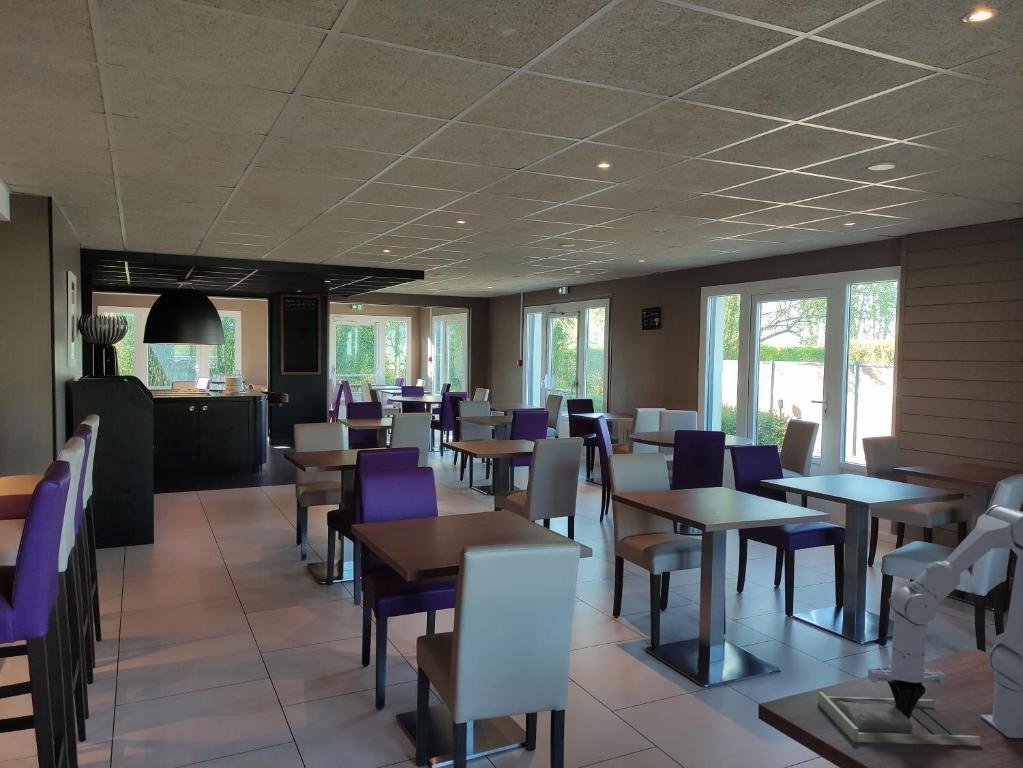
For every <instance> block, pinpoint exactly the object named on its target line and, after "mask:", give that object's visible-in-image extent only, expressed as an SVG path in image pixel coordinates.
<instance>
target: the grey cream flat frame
mask: <svg viewBox="0 0 1023 768" xmlns="http://www.w3.org/2000/svg"><path fill="white" fill-rule="evenodd" d="M826 696H827V695H826ZM827 697H828V698H829V699H830V700H831V701H832V702H833V703H834V704H835V705H836V703H837V701H842V702H852V703H857V702H860V701H880V702H883V703H887V704H889V705H892V706H894V707H896V704H895V700H894V697H893V698H892V697H863V696H861V697H860V696H832V695H831V696H830V695H829V696H827ZM935 703H936V700H935V699H925V698H924V699H921V698H920V699H919V700H918V702H917V703H916V705H915V708H919V709H920V708H935ZM981 741H982V737H981V736H980V735H968V736H965V735H951V734H950V735H933V734H932V733H931V734H929V733H927V734H925V733H910V734H898V733H865V732H858V742H857V743H875V744H876V743H879V744H883V743H884V744H912V745H913V744H915V745H949V746H952V745H953V746H981V743H982V742H981Z"/></svg>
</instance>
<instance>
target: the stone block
mask: <svg viewBox="0 0 1023 768" xmlns="http://www.w3.org/2000/svg"><path fill="white" fill-rule="evenodd" d="M836 706H837V707H838V708H839V709H840V710H841V711H842V712H843V714H844V715H845V716H846V717H847V718H848V719H849V720H850V721H851V722H852V723H853V724H854V725H855V726H856V727H857V728H858V729H859V730H858V732H865V733H898V734H912V731H913V729H914V728H913V724H912V721H911V720H910V719H908V718H907V717H906V716H905V715H904V714H903V713H902V712H901V711H899V710H898V709H897V708H896V707H894V706H892V705H889V704H887V703H883V702H880V701H860V702H857V703H852V702H842V701H837V703H836Z"/></svg>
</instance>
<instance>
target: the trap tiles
mask: <svg viewBox="0 0 1023 768" xmlns="http://www.w3.org/2000/svg"><path fill="white" fill-rule="evenodd" d="M910 717H912V718H913V719H915V720H916V721H917V722H918V723H919V724H920V725H922V726H923V727H924V728H925V729H926V730H928V731H929V732H930V733H931V735H965V736H969V735H968V733H966V732H965V731H963V729H961V728H960V727H958V726H957V725H956V724H955V723H954V722H952V721H951V720H950V719H948V717H946V716H945V715H944V714H942V713H941V712H940V711H938V710H937V708H935V707H934V708H915V707H914V709H913V711H912V714H911V716H910Z"/></svg>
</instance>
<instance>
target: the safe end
mask: <svg viewBox="0 0 1023 768" xmlns="http://www.w3.org/2000/svg"><path fill="white" fill-rule="evenodd" d="M817 695H818V697H817V704H818V706H819V707H820V708H822V710H823V711H824V712H825V713H826V714H827V715H828V716H829V717H830V719H832V720H833V722H834V723H835V724H836V725H837V726H838V727H839V728H840V730H842V731H843V732H844V734H845V735H847V737H848V738H849V739H850V740H851V741H852V742H853V743H859V742H858V730H859V729H858V728H857V727H856V726H855V725H854V724H853V723H852V722H851V721H850V720H849V719H848V718H847V717H846V716H845V715H844V714H843V712H842V711H841V710H840V709H839V708H838V707H837V706H836V705H835V704H834V703H833V702H832V701H831V700H830V699H829V698H828V697H827V695H826V694H825V693H824V692H823V691H818V694H817Z"/></svg>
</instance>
